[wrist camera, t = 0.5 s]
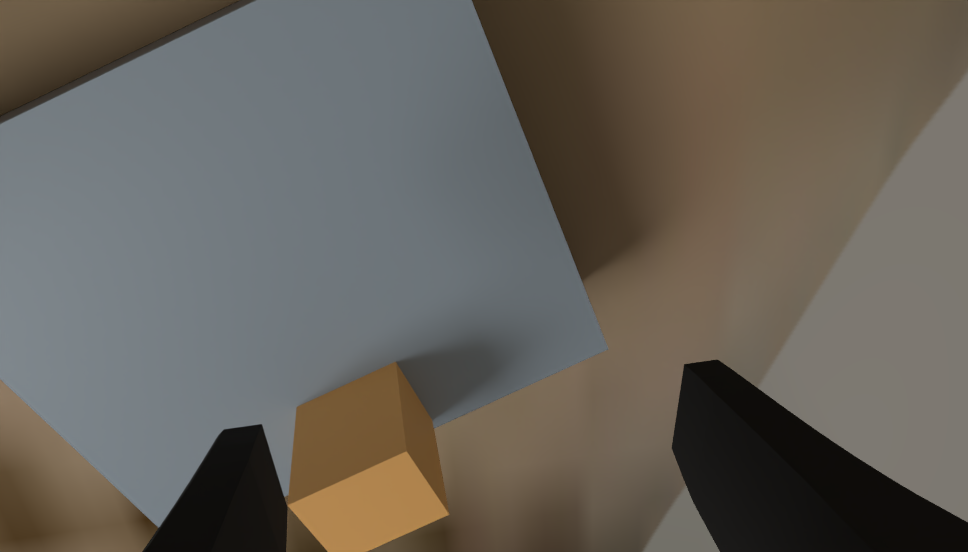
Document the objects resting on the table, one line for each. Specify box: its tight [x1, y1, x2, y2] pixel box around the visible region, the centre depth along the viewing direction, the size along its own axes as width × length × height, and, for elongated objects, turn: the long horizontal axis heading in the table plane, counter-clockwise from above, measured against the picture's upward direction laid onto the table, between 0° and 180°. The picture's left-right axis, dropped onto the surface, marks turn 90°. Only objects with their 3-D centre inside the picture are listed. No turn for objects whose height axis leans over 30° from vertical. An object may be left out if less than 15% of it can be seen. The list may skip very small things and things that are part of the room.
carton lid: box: [0, 0, 608, 552], centre depth 15 cm, size 14×12×4 cm
